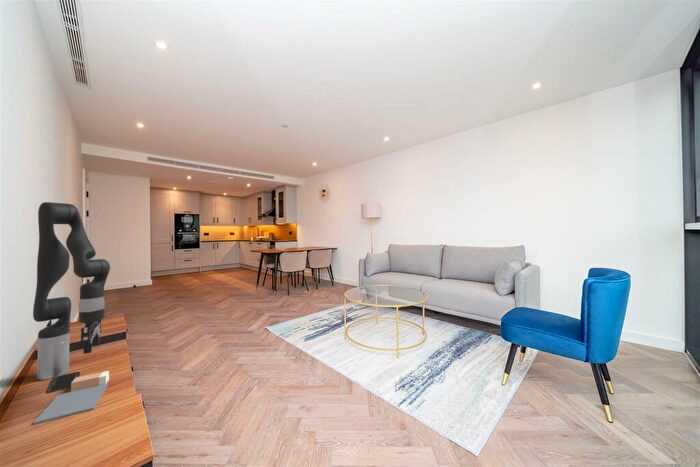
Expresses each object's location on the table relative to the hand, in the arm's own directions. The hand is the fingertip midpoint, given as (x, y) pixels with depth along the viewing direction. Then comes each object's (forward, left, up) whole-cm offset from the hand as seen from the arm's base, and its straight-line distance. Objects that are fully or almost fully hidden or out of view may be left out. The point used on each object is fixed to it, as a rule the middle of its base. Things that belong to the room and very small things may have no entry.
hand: (91, 349), depth 106 cm
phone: (-9, -10, -15) cm, 20 cm away
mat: (+13, -1, -14) cm, 19 cm away
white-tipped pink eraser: (0, 0, -14) cm, 14 cm away
